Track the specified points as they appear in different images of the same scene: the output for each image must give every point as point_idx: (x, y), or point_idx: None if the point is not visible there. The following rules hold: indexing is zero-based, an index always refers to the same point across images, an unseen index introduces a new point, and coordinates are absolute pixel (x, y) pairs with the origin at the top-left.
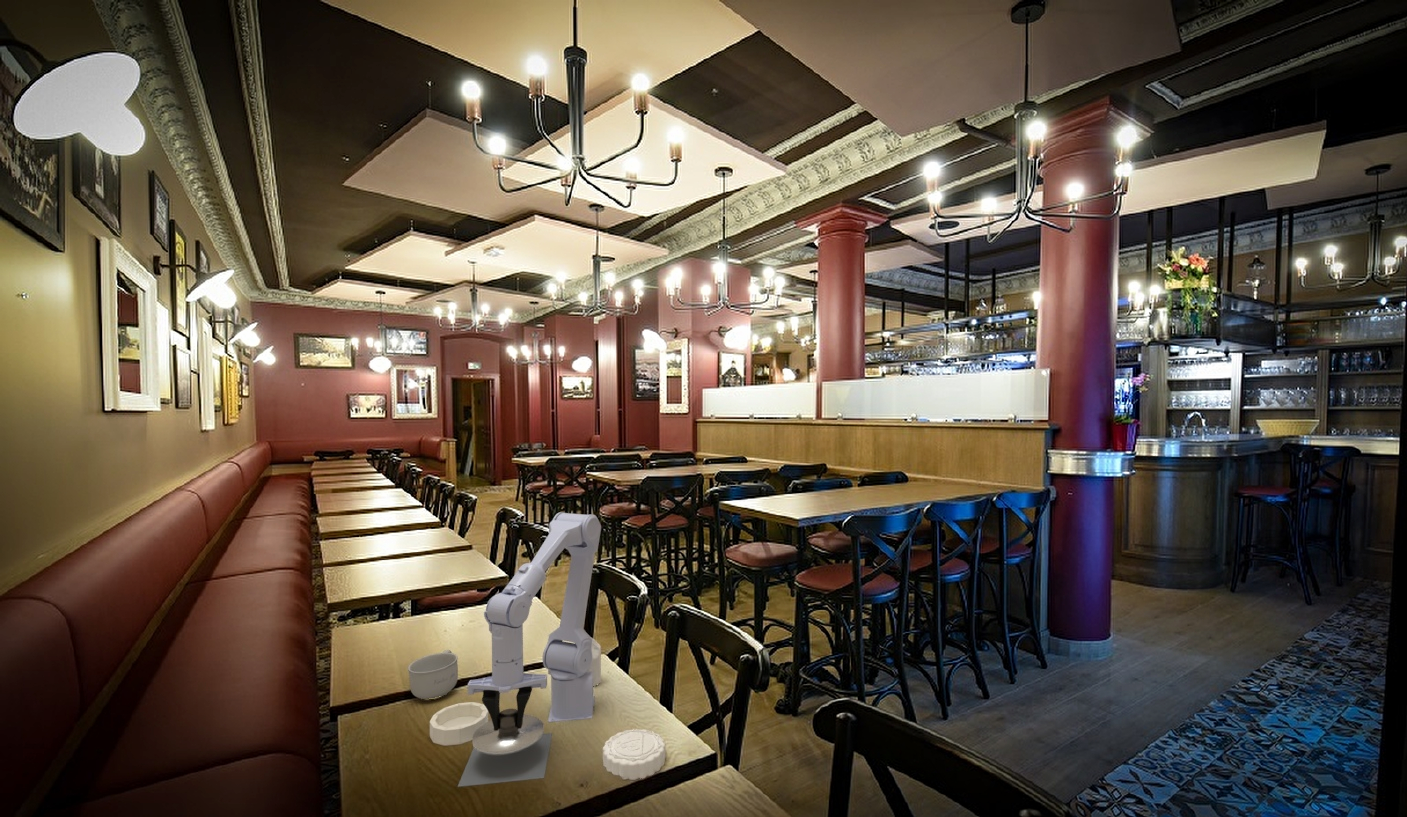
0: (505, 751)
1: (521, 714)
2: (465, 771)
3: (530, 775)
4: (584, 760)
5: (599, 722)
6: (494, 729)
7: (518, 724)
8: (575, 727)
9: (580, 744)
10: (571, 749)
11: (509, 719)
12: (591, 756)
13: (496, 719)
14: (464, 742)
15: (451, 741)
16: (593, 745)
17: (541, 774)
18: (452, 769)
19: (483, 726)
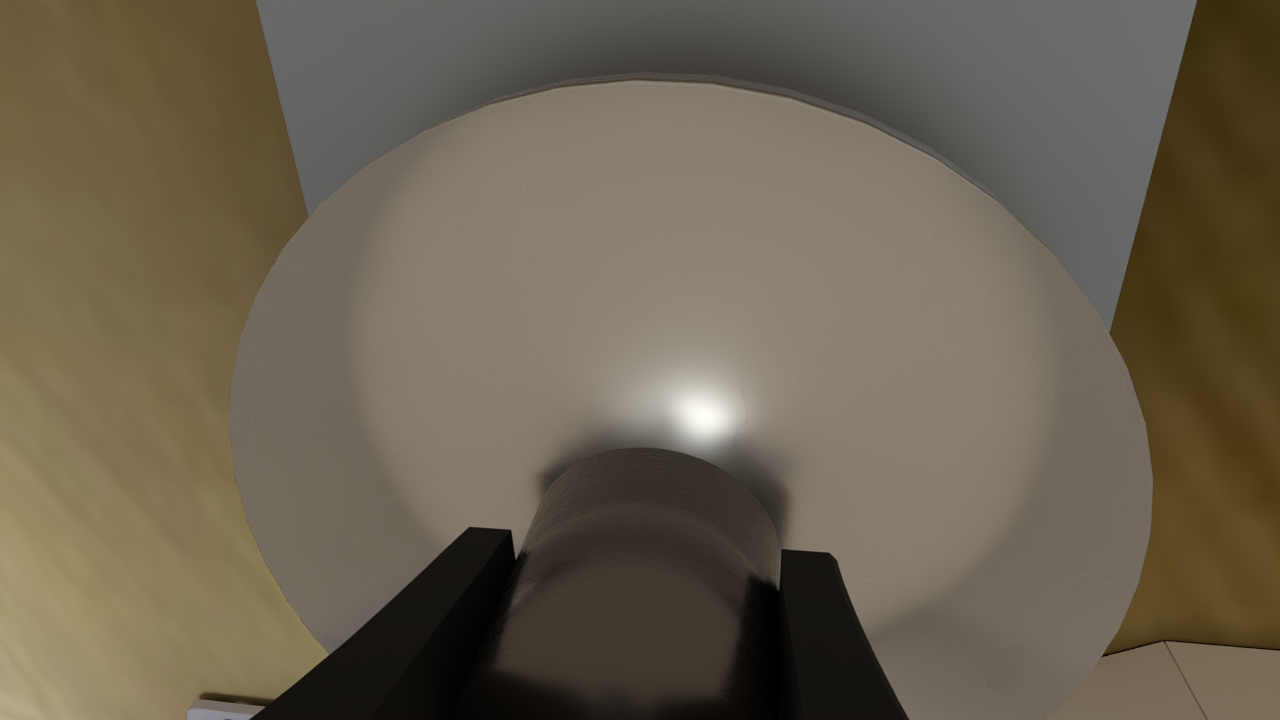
0: (586, 83)
1: (328, 673)
2: (1115, 235)
3: (399, 44)
4: (39, 247)
5: (140, 663)
6: (833, 564)
7: (463, 561)
8: (281, 651)
9: (164, 459)
10: (206, 412)
11: (557, 629)
12: (9, 291)
13: (800, 677)
14: (1132, 669)
15: (1274, 692)
16: (61, 427)
17: (295, 47)
18: (1245, 335)
19: (1001, 714)
